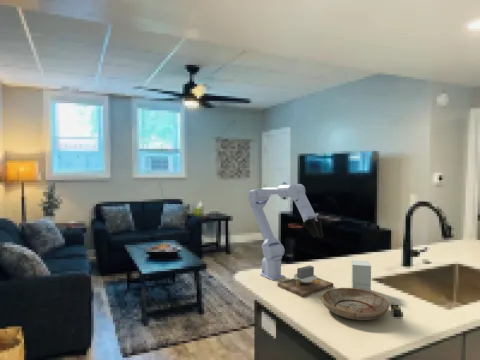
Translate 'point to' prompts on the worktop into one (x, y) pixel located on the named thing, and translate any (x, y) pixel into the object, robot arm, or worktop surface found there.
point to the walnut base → (304, 286)
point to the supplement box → (361, 275)
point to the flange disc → (306, 275)
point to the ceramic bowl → (355, 303)
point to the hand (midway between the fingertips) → (319, 237)
